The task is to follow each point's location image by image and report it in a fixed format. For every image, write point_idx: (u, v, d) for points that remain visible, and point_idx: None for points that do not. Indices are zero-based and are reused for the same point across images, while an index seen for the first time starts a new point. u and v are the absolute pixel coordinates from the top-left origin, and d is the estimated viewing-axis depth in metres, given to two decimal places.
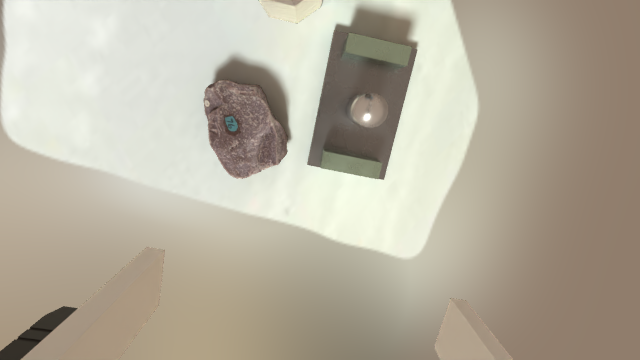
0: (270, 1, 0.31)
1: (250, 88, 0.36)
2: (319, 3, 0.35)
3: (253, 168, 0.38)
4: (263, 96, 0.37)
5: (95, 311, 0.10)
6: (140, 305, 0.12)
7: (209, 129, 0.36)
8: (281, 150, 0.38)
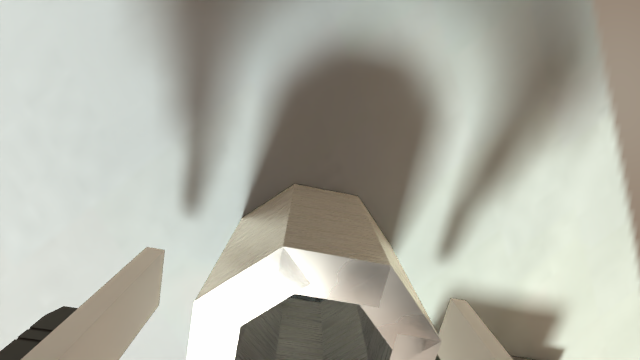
0: None
1: None
2: None
3: None
4: None
5: (95, 311, 0.10)
6: (140, 305, 0.12)
7: None
8: None
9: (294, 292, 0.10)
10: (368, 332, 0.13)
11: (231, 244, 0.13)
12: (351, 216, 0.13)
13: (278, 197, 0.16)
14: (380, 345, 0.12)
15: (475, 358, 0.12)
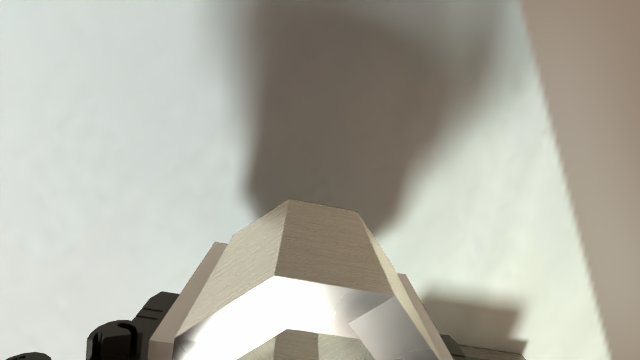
0: None
1: None
2: None
3: None
4: None
5: (196, 294, 0.11)
6: None
7: None
8: None
9: (287, 325, 0.09)
10: None
11: (220, 267, 0.12)
12: (349, 235, 0.12)
13: (272, 213, 0.15)
14: None
15: None
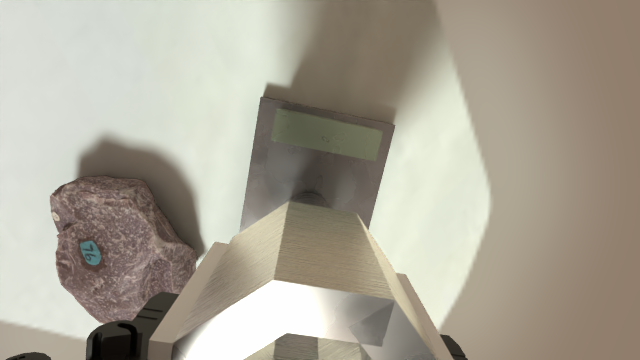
0: None
1: (121, 194, 0.22)
2: None
3: (137, 313, 0.24)
4: (147, 202, 0.23)
5: (195, 294, 0.11)
6: None
7: (57, 261, 0.23)
8: (183, 280, 0.25)
9: (286, 329, 0.09)
10: None
11: (219, 270, 0.12)
12: (349, 238, 0.12)
13: (271, 215, 0.15)
14: None
15: None
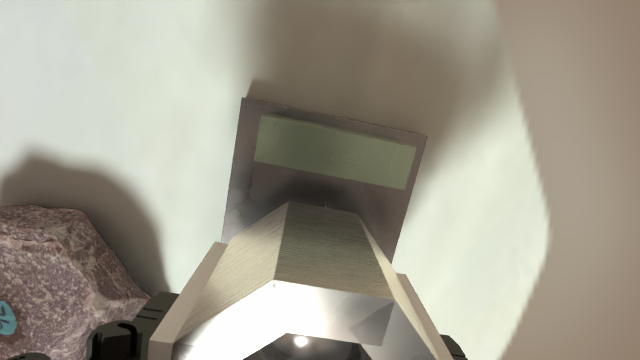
0: None
1: (46, 234, 0.16)
2: None
3: None
4: (87, 243, 0.17)
5: (195, 294, 0.11)
6: None
7: None
8: None
9: (286, 329, 0.09)
10: None
11: (219, 270, 0.12)
12: (349, 238, 0.12)
13: (271, 215, 0.15)
14: None
15: None
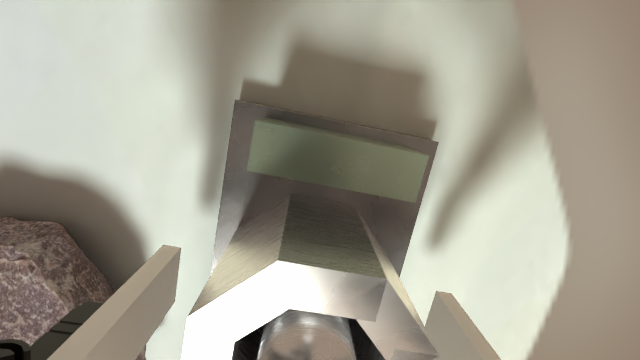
0: None
1: (18, 251, 0.14)
2: None
3: None
4: (64, 260, 0.15)
5: (121, 305, 0.10)
6: (159, 301, 0.13)
7: None
8: None
9: (289, 306, 0.10)
10: (365, 346, 0.13)
11: (226, 256, 0.13)
12: (347, 227, 0.13)
13: (274, 207, 0.16)
14: (377, 359, 0.11)
15: (457, 348, 0.13)
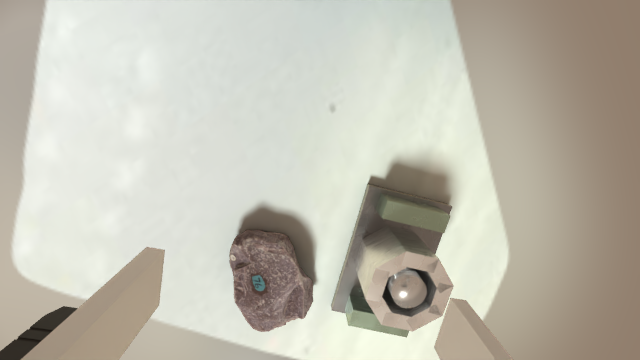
0: None
1: (279, 245, 0.35)
2: None
3: (278, 323, 0.36)
4: (291, 250, 0.36)
5: (95, 311, 0.10)
6: (140, 305, 0.12)
7: (235, 287, 0.35)
8: (307, 301, 0.37)
9: (407, 266, 0.31)
10: None
11: (371, 250, 0.34)
12: (417, 241, 0.34)
13: (381, 231, 0.36)
14: (430, 289, 0.32)
15: (475, 358, 0.12)
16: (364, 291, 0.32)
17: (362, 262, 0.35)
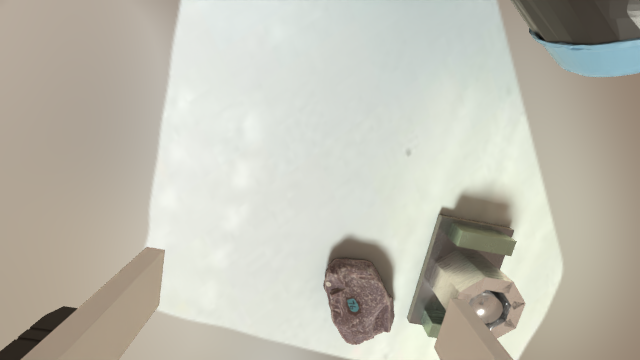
0: None
1: (368, 272, 0.41)
2: None
3: (368, 337, 0.42)
4: (377, 275, 0.42)
5: (95, 311, 0.10)
6: (140, 305, 0.12)
7: (332, 309, 0.41)
8: (391, 317, 0.43)
9: (486, 289, 0.36)
10: None
11: (449, 274, 0.39)
12: (488, 264, 0.40)
13: (453, 255, 0.42)
14: (504, 306, 0.38)
15: (475, 358, 0.12)
16: None
17: (440, 283, 0.41)
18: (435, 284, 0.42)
